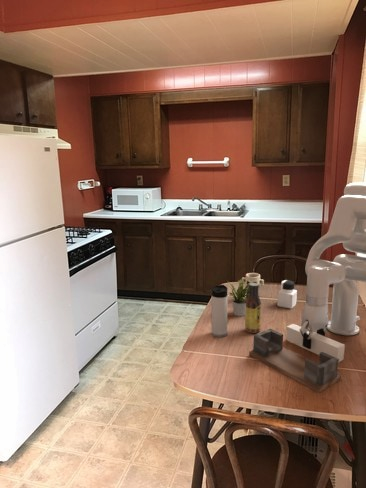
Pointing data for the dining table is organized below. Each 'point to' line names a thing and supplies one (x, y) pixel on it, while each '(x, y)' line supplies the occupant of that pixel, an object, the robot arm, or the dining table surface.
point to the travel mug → (219, 311)
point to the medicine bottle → (287, 294)
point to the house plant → (239, 298)
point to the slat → (316, 342)
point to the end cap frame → (295, 362)
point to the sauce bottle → (253, 309)
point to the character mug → (254, 278)
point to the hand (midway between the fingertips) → (313, 343)
